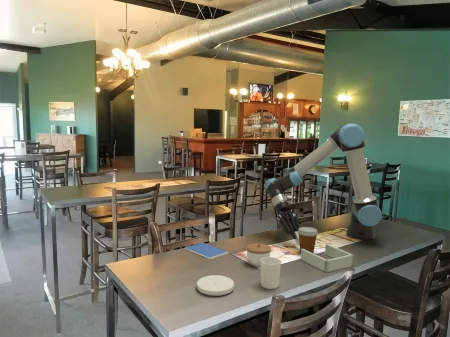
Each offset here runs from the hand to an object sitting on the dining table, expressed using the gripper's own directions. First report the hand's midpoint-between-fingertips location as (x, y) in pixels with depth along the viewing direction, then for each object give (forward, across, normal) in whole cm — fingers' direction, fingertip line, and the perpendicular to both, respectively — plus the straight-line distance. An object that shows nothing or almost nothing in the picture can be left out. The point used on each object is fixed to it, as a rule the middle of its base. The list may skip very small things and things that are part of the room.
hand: (300, 244), depth 178 cm
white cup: (+21, +37, +16) cm, 45 cm away
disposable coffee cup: (+6, 0, +1) cm, 6 cm away
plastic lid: (+16, +57, +11) cm, 60 cm away
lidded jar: (+6, +29, +2) cm, 30 cm away
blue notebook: (-11, +43, -16) cm, 47 cm away
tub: (+15, 0, +11) cm, 18 cm away
